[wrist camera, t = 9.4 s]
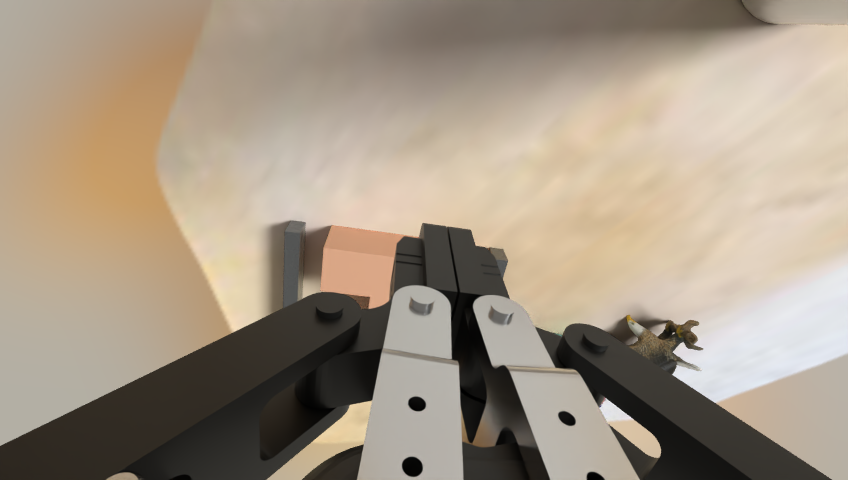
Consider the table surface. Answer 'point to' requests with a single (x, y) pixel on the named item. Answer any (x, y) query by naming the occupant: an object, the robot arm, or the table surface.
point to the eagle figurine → (665, 344)
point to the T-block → (359, 263)
